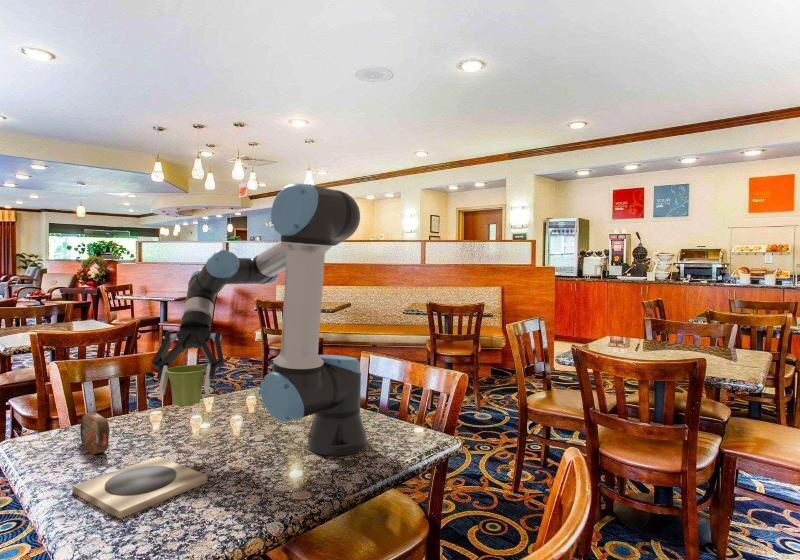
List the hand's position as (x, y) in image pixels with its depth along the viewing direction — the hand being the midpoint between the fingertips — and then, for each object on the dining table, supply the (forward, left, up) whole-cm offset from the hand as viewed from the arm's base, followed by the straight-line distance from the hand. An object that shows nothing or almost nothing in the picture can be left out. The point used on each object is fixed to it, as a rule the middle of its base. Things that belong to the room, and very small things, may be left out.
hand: (184, 391), depth 115 cm
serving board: (-8, +15, -16) cm, 23 cm away
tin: (+22, +10, -16) cm, 29 cm away
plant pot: (+2, -2, -4) cm, 5 cm away
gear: (+20, -47, -16) cm, 53 cm away
